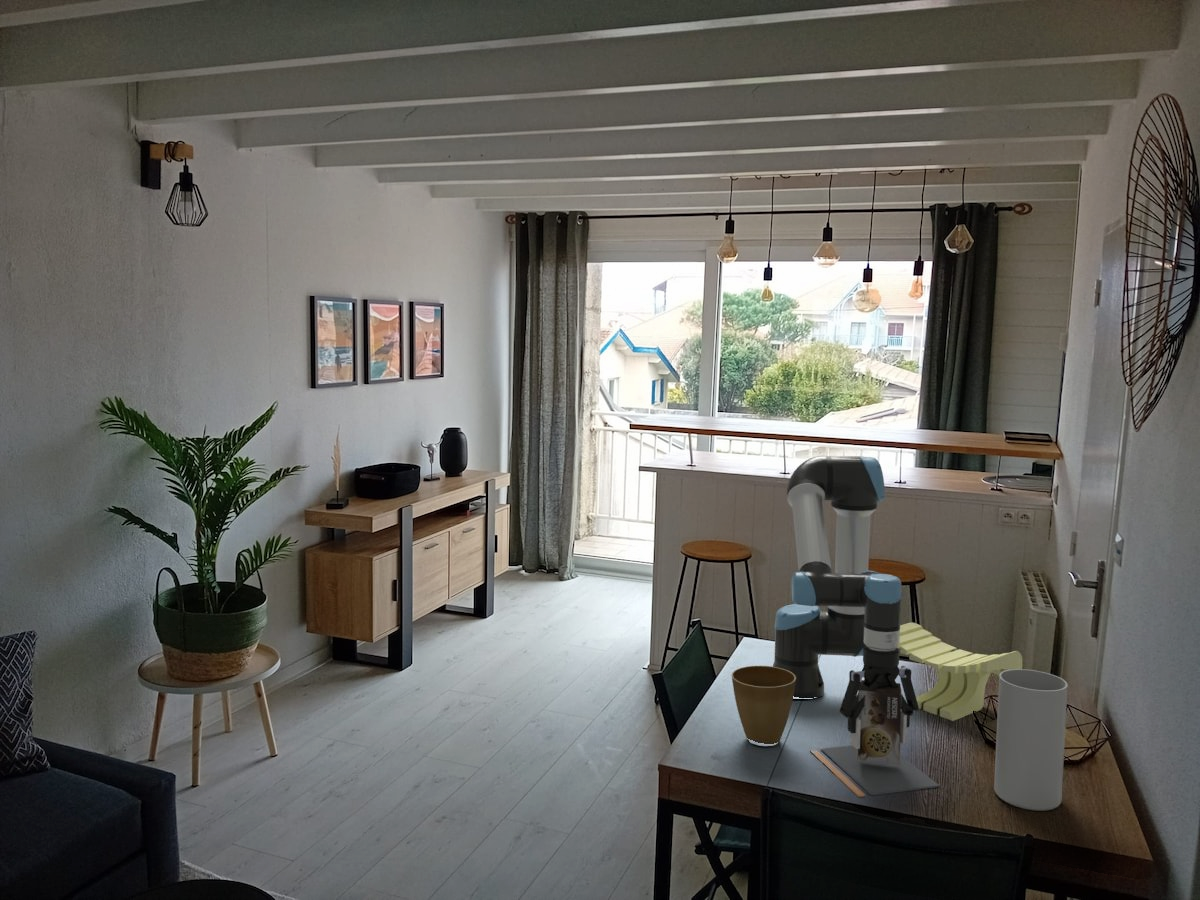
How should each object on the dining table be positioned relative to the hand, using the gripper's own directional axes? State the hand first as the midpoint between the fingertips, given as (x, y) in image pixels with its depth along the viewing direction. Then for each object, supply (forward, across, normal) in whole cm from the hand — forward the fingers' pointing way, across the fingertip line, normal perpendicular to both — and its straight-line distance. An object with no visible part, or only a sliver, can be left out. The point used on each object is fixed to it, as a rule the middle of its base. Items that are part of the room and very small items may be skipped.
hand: (878, 743), depth 195 cm
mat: (+6, 0, 0) cm, 6 cm away
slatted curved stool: (+6, +37, +28) cm, 47 cm away
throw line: (+6, -10, 0) cm, 11 cm away
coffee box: (+3, 0, 0) cm, 3 cm away
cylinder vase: (+6, +23, -19) cm, 30 cm away
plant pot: (+6, -19, +19) cm, 27 cm away
